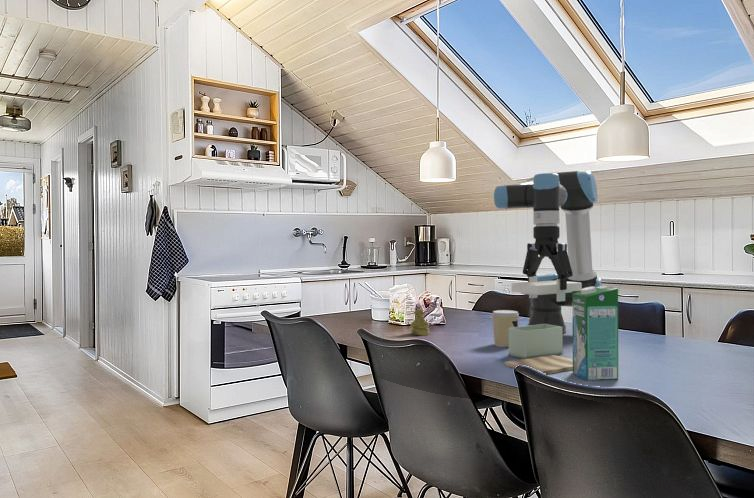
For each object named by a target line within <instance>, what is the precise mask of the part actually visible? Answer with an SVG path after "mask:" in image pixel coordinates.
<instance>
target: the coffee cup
mask: <svg viewBox="0 0 754 498" xmlns="http://www.w3.org/2000/svg"><path fill="white" fill-rule="evenodd" d="M491 315H492V326H493V340H494V342H493V343H494V345H495V346H496V347H500V348H509V328H512V327H519V315H520V313H519V312H518V311H517V310H512V309H511V310H510V309H498V310H493V311H492V314H491Z"/></svg>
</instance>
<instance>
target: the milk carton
mask: <svg viewBox="0 0 754 498" xmlns="http://www.w3.org/2000/svg"><path fill="white" fill-rule="evenodd" d="M571 313H572V359H573V370H572V374H574V375H576V376H578V377H580V378H581V377H582V379H583V378H584V380H585V379H586V380H585V381H587V380H588V381H594V380H593V379H617V380H619V288H618V287H613V286H608V285H603V284H601V286H598V287H594V286H592V287H586V288H583V289H581V291H580V292H577V293H573V294H572V312H571Z"/></svg>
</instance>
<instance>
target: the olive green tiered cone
mask: <svg viewBox="0 0 754 498" xmlns="http://www.w3.org/2000/svg"><path fill="white" fill-rule="evenodd" d="M426 314H427V312H426V311H425V310H423V309H422V308H418V309H416V310H415V311H413V315H415V316H416V317H415V319H414V320H413V321H411V322H410V327H411V328H410V335H412V334H413V335H412V336H417V335H423V336H427V335H429V334H430V328H429V327H430V323H429V322H428V321H426V319H425V318H424V316H425V315H426Z"/></svg>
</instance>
